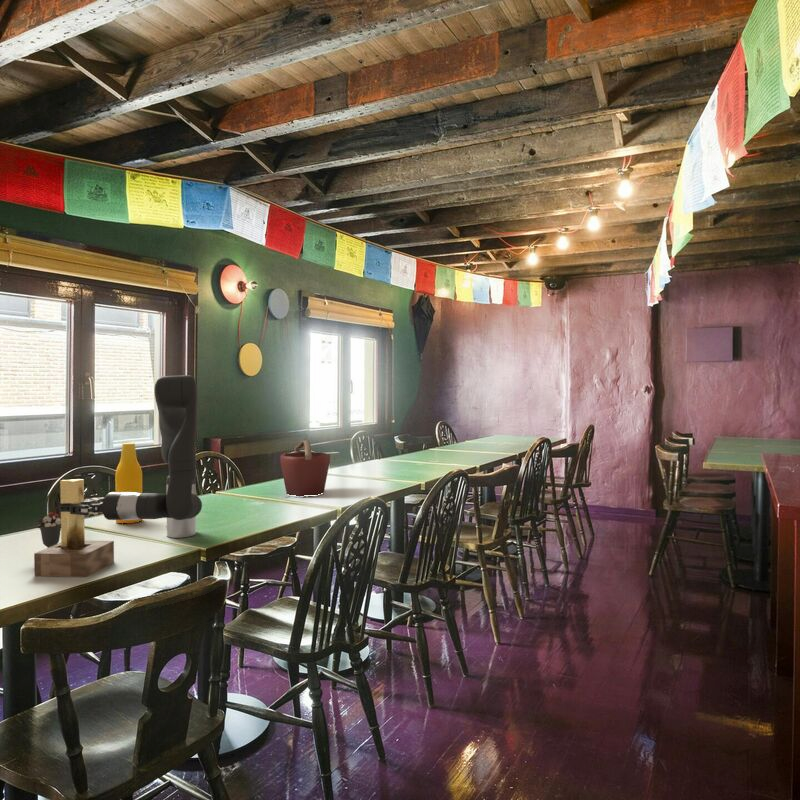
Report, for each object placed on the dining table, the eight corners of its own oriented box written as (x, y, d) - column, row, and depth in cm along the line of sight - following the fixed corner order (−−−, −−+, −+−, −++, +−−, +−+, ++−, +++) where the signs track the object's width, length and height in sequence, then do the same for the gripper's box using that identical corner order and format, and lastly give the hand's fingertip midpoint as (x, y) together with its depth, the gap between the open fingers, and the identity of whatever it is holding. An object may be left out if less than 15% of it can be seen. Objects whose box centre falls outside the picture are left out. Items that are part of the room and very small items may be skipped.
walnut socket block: (66, 560, 175) (66, 540, 175) (114, 561, 174) (113, 540, 174) (34, 575, 161) (34, 553, 161) (85, 576, 160) (85, 554, 160)
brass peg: (67, 543, 170) (66, 479, 170) (88, 543, 170) (87, 479, 169) (57, 547, 166) (56, 481, 165) (78, 547, 165) (77, 481, 165)
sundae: (68, 555, 180) (68, 505, 180) (56, 562, 174) (56, 509, 173) (46, 556, 180) (45, 505, 180) (33, 562, 174) (32, 510, 173)
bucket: (285, 490, 296) (285, 438, 295) (331, 489, 297) (331, 438, 297) (278, 499, 271) (278, 443, 271) (328, 498, 273) (328, 442, 272)
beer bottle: (132, 524, 221) (131, 444, 221) (110, 523, 223) (109, 444, 222) (148, 519, 230) (147, 442, 230) (126, 518, 232) (125, 442, 231)
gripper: (138, 488, 174) (80, 487, 175) (111, 496, 159) (48, 496, 160) (138, 514, 174) (80, 514, 175) (111, 525, 159) (48, 525, 160)
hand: (65, 505), depth 168 cm, fingers closed on brass peg, 4 cm apart
